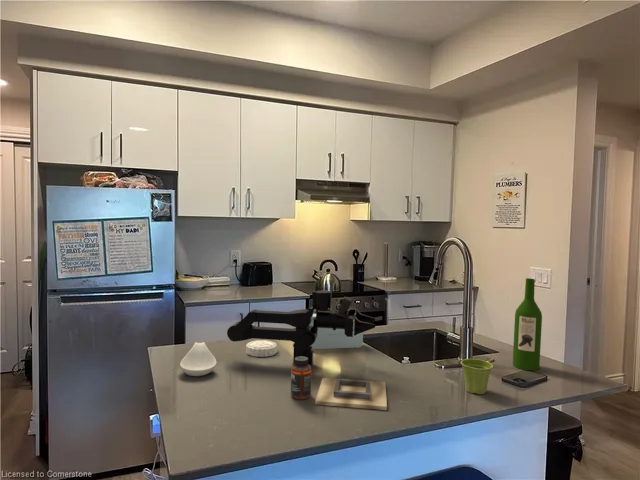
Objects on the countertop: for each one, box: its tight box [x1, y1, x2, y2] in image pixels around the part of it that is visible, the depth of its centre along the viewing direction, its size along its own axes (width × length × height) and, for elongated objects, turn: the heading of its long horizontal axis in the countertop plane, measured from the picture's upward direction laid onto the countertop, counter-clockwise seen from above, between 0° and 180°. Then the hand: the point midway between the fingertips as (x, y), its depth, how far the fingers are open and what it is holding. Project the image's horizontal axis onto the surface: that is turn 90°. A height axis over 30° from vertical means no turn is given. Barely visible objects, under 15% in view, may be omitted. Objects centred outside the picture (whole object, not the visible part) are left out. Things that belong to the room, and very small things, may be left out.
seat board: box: [314, 377, 388, 411], centre depth 129 cm, size 20×18×2 cm
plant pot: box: [460, 358, 494, 395], centre depth 134 cm, size 9×9×9 cm
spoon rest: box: [179, 341, 218, 377], centre depth 148 cm, size 24×12×7 cm, turn 15°
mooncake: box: [245, 339, 278, 358], centre depth 167 cm, size 12×12×4 cm
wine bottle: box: [512, 277, 543, 372], centre depth 157 cm, size 9×9×32 cm
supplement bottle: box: [290, 356, 312, 400], centre depth 126 cm, size 6×6×11 cm
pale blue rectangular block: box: [309, 313, 364, 350], centre depth 176 cm, size 23×6×13 cm, turn 102°
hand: (375, 322), depth 150 cm, fingers open, 9 cm apart
